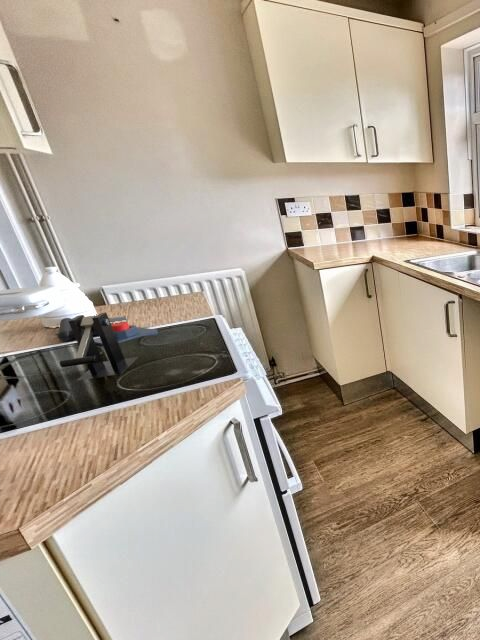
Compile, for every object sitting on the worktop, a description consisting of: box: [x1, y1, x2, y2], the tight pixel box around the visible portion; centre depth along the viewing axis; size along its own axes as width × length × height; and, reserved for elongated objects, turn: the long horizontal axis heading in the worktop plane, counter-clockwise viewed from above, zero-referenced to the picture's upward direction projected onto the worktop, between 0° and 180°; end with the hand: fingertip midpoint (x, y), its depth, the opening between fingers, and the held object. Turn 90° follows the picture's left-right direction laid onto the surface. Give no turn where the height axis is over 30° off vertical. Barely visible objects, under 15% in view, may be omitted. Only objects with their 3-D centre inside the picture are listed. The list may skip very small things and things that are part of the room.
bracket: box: [69, 312, 139, 382], centre depth 96 cm, size 11×8×14 cm
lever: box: [59, 315, 98, 368], centre depth 91 cm, size 13×6×2 cm, turn 24°
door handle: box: [53, 315, 128, 342], centre depth 128 cm, size 3×20×16 cm
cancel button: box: [111, 321, 130, 332], centre depth 117 cm, size 4×4×2 cm
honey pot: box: [38, 266, 98, 327], centre depth 134 cm, size 13×13×18 cm
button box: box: [93, 324, 159, 346], centre depth 118 cm, size 12×9×4 cm
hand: (1, 295), depth 70 cm, fingers open, 8 cm apart
